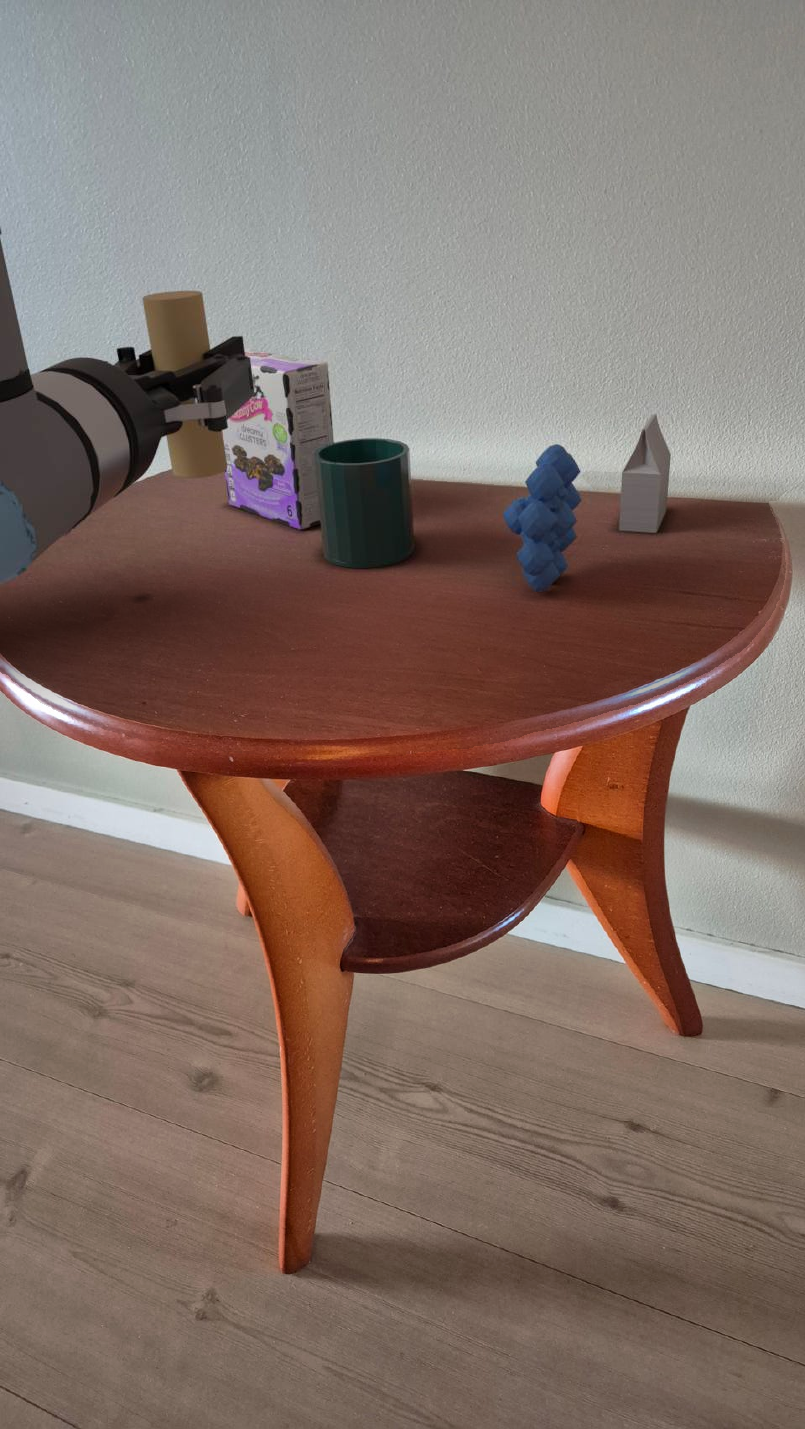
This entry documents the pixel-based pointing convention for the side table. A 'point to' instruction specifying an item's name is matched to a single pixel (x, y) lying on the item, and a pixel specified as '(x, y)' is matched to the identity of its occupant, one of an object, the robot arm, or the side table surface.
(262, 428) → the candy box
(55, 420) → the robot arm
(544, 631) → the side table surface
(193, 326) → the tan cylinder
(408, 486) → the dark green cup
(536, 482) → the grapes
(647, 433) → the grey milk carton
